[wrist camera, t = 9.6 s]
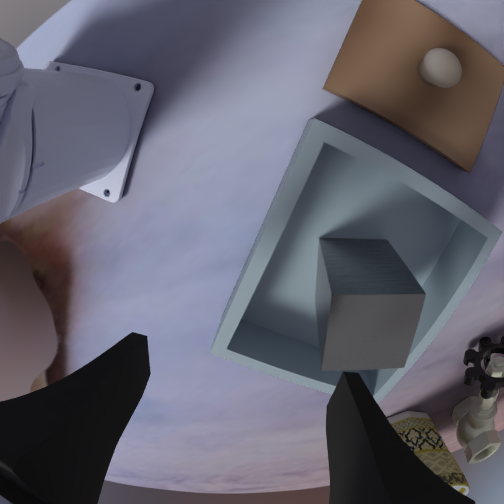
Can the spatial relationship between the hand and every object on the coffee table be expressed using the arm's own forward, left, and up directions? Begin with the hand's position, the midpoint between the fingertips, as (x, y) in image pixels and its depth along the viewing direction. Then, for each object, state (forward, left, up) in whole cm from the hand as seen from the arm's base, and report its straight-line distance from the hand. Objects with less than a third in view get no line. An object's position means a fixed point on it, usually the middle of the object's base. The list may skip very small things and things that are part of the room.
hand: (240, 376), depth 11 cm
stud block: (+4, +15, -10) cm, 18 cm away
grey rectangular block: (+5, +2, -9) cm, 11 cm away
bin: (+5, +2, -10) cm, 11 cm away
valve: (+24, -3, -10) cm, 26 cm away
